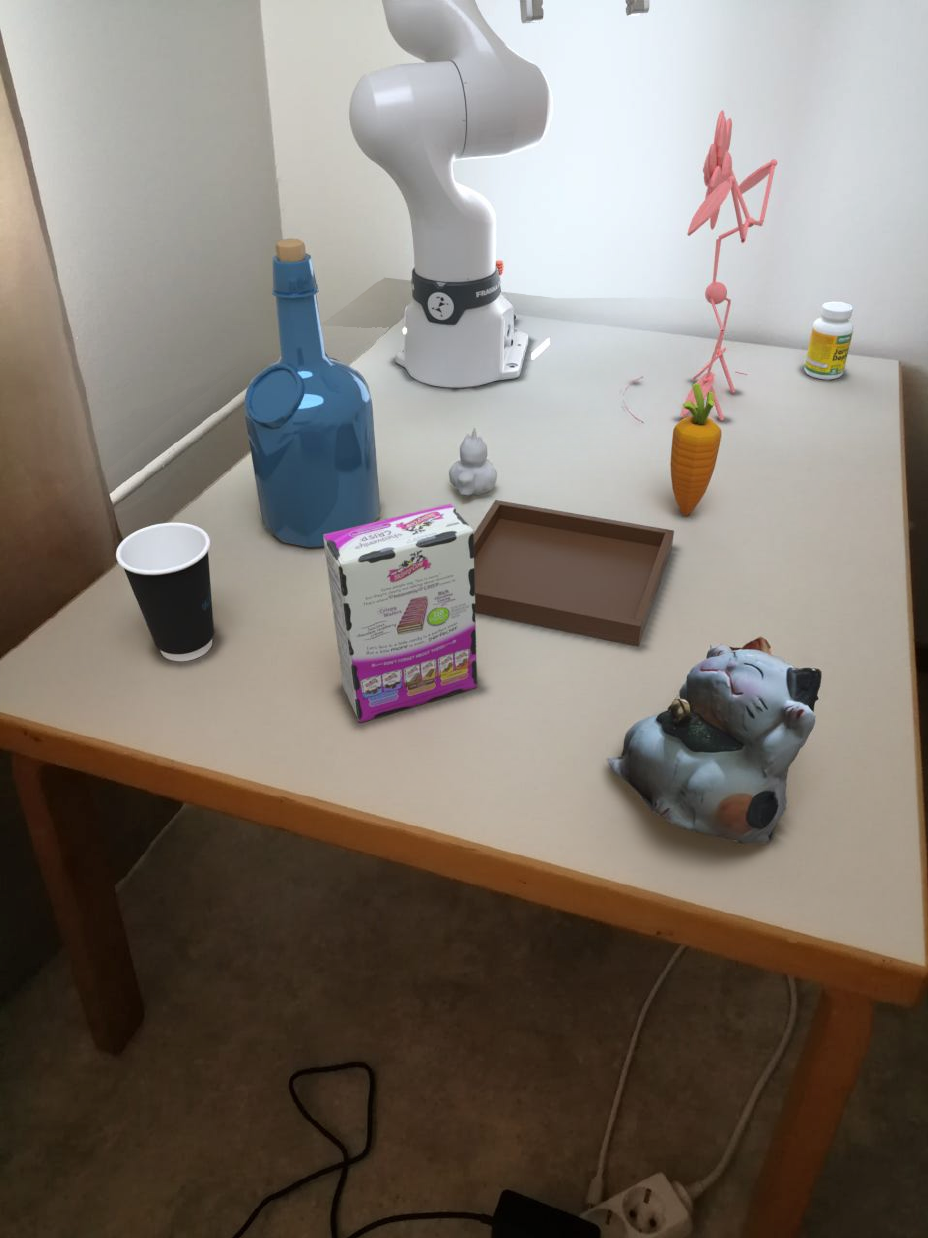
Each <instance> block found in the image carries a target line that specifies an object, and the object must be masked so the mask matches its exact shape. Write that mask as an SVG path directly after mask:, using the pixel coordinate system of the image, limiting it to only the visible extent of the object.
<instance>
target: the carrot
mask: <svg viewBox="0 0 928 1238" xmlns="http://www.w3.org/2000/svg"><path fill="white" fill-rule="evenodd" d="M692 387H693V391H694V395H695V399H696V402H697V405H695V406H694V404H693V402H691V401H688V402H686V403H685V402H683V403H682V408H683V407H684V408H686V409H688V410H689V411H690V412H691V413H690V414H691V415H692V416H684V417H683V418H681V420H680V421H679V422H678V423H676V424H675V425H674V428H673V431H672V439H671V440H672V441H671V451H670V478H671V489H672V493H673V496H674V499H675V502H676V504H677V507H678V510H679V512H680V513H681V514H682V515H683V516H685V517H687V516H689V515H690V514H691V513H692V512H693V511H694V510H695V508H696V507H697V506H698V505H699V503H700V502H701V500H702V499H703V497H704V495H705V493H706V492H707V489H708V487H709V484H710V483H711V480H712V476H713V474H714V471H715V468H716V465H717V460H718V456H719V455H718V454H719V450H720V445H721V440H722V433H723V432H722V428H721V427H720V426H719V425H718V423H716V421H715V420H714V419H712V418H709V415H710V414H711V410H712V409H713V407H715V405H714V404H715V403H714V401H713V400H714V394H713V393H712V392H708V394H707V397H706V399H705V400H706V401H705V400H704V399H703V394H702V390H701V387H700V384H698V383H696V382H695V383H694V384H692V386H691V388H692Z"/></svg>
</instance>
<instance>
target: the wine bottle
mask: <svg viewBox="0 0 928 1238" xmlns="http://www.w3.org/2000/svg"><path fill="white" fill-rule="evenodd" d="M275 252H276V255H274V256H273V257H272V261H271V262H272V288H271V294H272V296H274V297H275V304H276V314H277V315H276V316H277V326H278V336H279V337H278V338H279V346H280V347H279V348H280V357H279V358H278V360H277V361H275V362H272V363H271V364H270V365H268V366H267V367H266V368H265V369H263V370H261V371H260V372H259V373H258V374H257V375H256V376H254V377H253V378H252V379H251V381H250V382H249V384H248V386H247V388H246V391H245V395H244V416H245V423H246V429H247V436H248V442H249V448H250V455H251V460H252V466H253V474H254V479H255V487H256V492H257V498H258V504H259V510H260V517H261V522H262V525H263V526H264V527H265V530H267V531H268V532H269V533H270V534H272V535H273V536H275V537H276V538H277V539H278V540H280V541H281V542H282V543H286V544H291V545H297V546H301V547H304V548H305V547H306V548H317V547H324V540H323V535H324V534H328V533H332V532H336V531H340V530H344V529H348V528H353V527H357V526H361V525H365V524H369V523H373V522H377V521H378V519H379V516H380V514H381V502H380V500H381V499H380V488H379V474H378V462H377V447H376V435H375V433H376V432H375V422H374V421H375V420H374V419H375V418H374V408H373V407H374V406H373V400H372V395H371V390H370V386H369V384H368V382H367V380H366V379H365V377H364V376H363V375H362V374H361V372H359V371H358V370H357V369H355V368H354V367H353V366H352V367H351V366H350V365H348V364H346V363H344V362H342V361H340V360H338V359H337V358H335V357H329V356H328V354H327V353H326V351H325V347H324V338H323V332H322V326H321V318H320V311H319V304H318V303H319V302H318V297H317V293H319V290H320V289H319V285H318V284H317V279H316V275H315V270H314V265H313V259H312V255H310V254H309V253H306V252H307V251H306V245H305V242H304V241H303V240H301V239H299V238H285V239H281V240H279V241H278V242H276V243H275Z"/></svg>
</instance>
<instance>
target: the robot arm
mask: <svg viewBox="0 0 928 1238" xmlns="http://www.w3.org/2000/svg"><path fill="white" fill-rule="evenodd" d="M381 4H382V7H383V12H384V16H385V21H386V25H387V29H388V31H389V33H390V35H391V36H392V38H393V40H394V41H395V42H396V44H397V45H398V46H399V47H400V48H401V49H402V50H403V51H404V52H406V53H407V54H409V55H411V56H413V57H415V58H417V59H419V60H421V61H423V62H412V63H411V62H409V63H398V64H394V65H391V66H387V67H383V68H379V69H376V70H374V71H370V72H368V73H364V74H363V75H361V77H360V78H359V80H358V81H357V83H356V84H355V86H354V88H353V90H352V93H351V97H350V101H349V107H348V118H349V120H348V121H349V125H350V129H351V133H352V136H353V138H354V140H355V143H356V144H357V146H358V147H359V149H360V150H361V152H362V153H363V154H364V155H365V156H366V157H367V158H368V159H369V160H370V161H372V162H373V163H375V164H376V165H377V166H379V167H380V168H382V170H384V171H385V172H386V173H387V175H389V177H390V178H391V179H392V180H393V181H394V183H395V184H396V186H397V188H398V189H399V191H400V192H401V194H402V197H403V200H404V201H405V204H406V207H407V211H408V214H409V219H410V227H411V236H412V246H413V260H414V261H413V262H414V267H413V269H412V270H411V280H410V287H411V294H412V298H413V299H412V301H411V302H410V303H408V304H407V306H406V307H405V308H404V318H403V319H404V320H403V321H404V322H403V328H402V333H403V349H402V350H401V351H398V352H397V353H396V355H395V363H396V364H398V365H399V366H401V367H403V368H405V369H406V371H407V373H408V374H409V376H410V377H412V379H414V380H415V381H418V382H420V383H423V384H426V385H430V386H435V387H441V388H458V389H459V388H472V387H479V386H483V385H486V384H490V383H493V382H496V381H503V380H511V379H512V380H513V379H517V378H519V377H520V375H521V372H522V368H523V365H524V360H525V356H526V352H527V349H528V345H529V334H528V333H526V332H523V331H521V330H519V329H515V321H516V319H517V315H516V314H515V309H514V305H513V304H512V302H509V300H508V299H506V297H505V296H503V294H502V292H501V291H502V288H501V287H502V286H501V276H502V275H503V273H504V272H503V271H504V262H503V260H501V259H497V257H496V256H497V217H496V213H495V210H494V208H493V206H492V204H491V203H490V201H489V200H488V199H487V198H486V197H485V195H484V196H483V195H482V194H481V193H479V192H477V191H475V190H474V189H472V188H470V187H467V186H466V185H463V184H460V183H458V182H456V180H455V177H454V169H453V164H454V162H457V161H461V160H462V161H463V160H473V159H484V158H485V159H486V158H498V157H505V156H509V155H512V154H516V153H518V152H521V151H524V150H527V149H529V148H533V147H535V146H538V145H539V144H540V143H541V142H542V141H543V139H544V137H545V136H546V134H547V132H548V130H549V128H550V125H551V121H552V117H553V112H554V111H553V110H554V101H553V100H554V98H553V93H552V89H551V86H550V83H549V81H548V79H547V77H546V74H545V73H544V72H543V70H542V69H541V68H540V67H539V65H537V64H536V63H534V62H532V61H531V60H529V59H527V58H525V57H523V56H522V55H520V54H519V53H517V52H516V51H515V50H513V49H512V48H511V47H510V46H508V44H506V43H505V42H504V41H503V39H501V38H500V37H499V36H498V34H497V33H496V32H495V31H494V30H493V29H492V27H491V26H490V24H488V22H487V20H486V19H485V18H484V16H483V14H482V12H481V11H480V8H479V7H478V3H477V2H476V0H381ZM543 4H544V0H519V7H520V20H521V23H522V24H536V23H540V22H541V21H543V19H544V9H543ZM625 4H626V6H625V14H626V16H627V17H632V16H633V17H634V16H635V17H636V16H644V15H646V14H647V13H649V11H650V0H625ZM550 344H551V342H550V338H547V339H545V341H543V342H542V343H541V344H540V345H539V346H538V347H537V348H536V349H535V350H534V351H532V352H531V360H535V359H536V358H537V357H538V356H539V355H540V354H541V353H542V352H544V351H545V349H546V348H547V347H549V345H550Z"/></svg>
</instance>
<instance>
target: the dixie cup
mask: <svg viewBox="0 0 928 1238" xmlns="http://www.w3.org/2000/svg"><path fill="white" fill-rule="evenodd" d="M210 547H211V539H210V536H209V534H208V533H207V532H206V531H205V530H204V529H202V528H201V527H200V526H197V525H194V524H190V523H185V522H162V523H156V524H152V525H148V526H146V527H143V528H140V529H138V530H136V531H134V532H132V533H131V534H129V535H128V536H126V537H125V538H124V539H123V540H122V541H121V542H120V543H119V545H118V546H117V547H116V552H115V559H116V561H117V563H118V564H119V566H120V567H122V568H123V570H124V573H125V575H126V578H127V580H128V583H129V585H130V588H131V590H132V592H133V595H134V597H135V600H136V602H137V604H138V607H139V609H140V611H141V614H142V616H143V618H144V621H145V623H146V626H147V628H148V631H149V633H150V635H151V638H152V641H153V643H154V645H155V647H156V648H157V650H159V651H160V653H161V655H162V656H163V658H165V659H167V660H169V661H172V662H173V661H174V662H188V661H192V660H195V659H198V658H200V657H202V656H204V655H205V654H207V652H209V650H210V649H211V648H212V645H213V637H214V634H215V626H214V614H213V613H214V611H213V600H212V599H213V597H212V587H211V585H212V584H211V573H210V571H211V570H210V559H209V550H210Z"/></svg>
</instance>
